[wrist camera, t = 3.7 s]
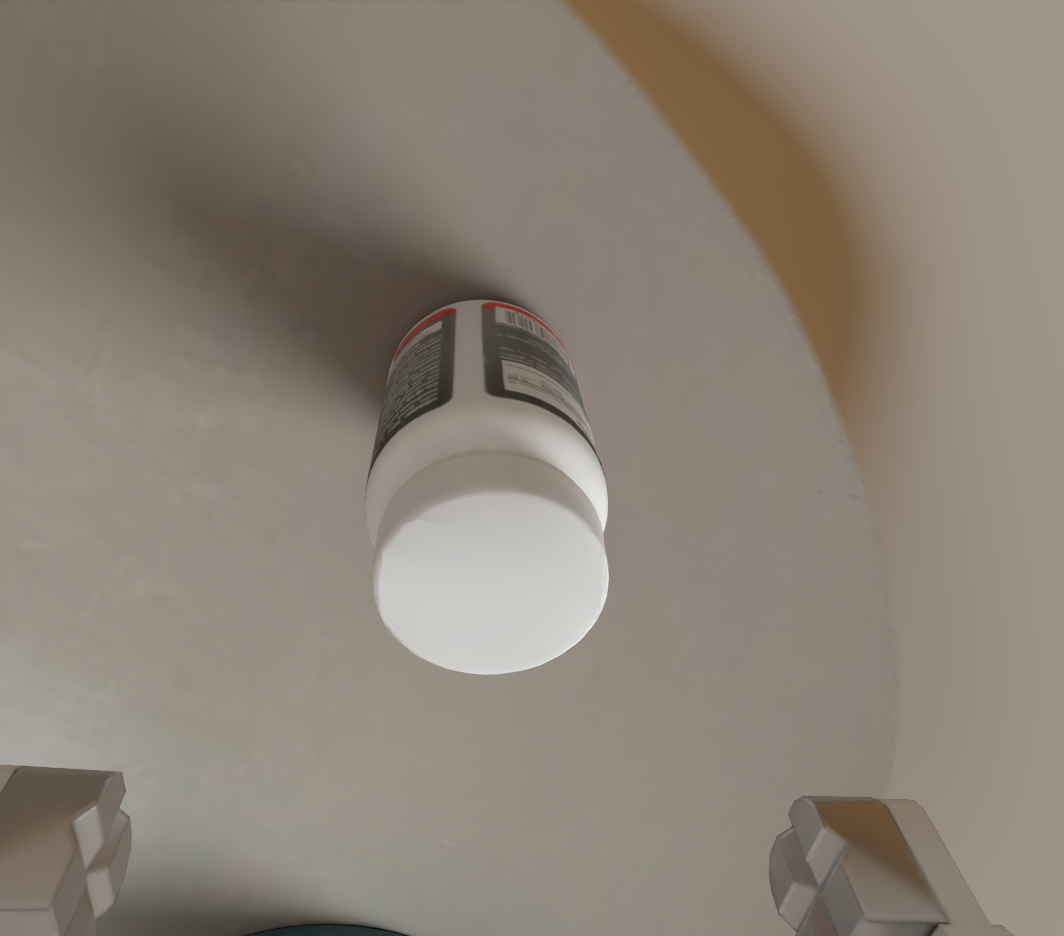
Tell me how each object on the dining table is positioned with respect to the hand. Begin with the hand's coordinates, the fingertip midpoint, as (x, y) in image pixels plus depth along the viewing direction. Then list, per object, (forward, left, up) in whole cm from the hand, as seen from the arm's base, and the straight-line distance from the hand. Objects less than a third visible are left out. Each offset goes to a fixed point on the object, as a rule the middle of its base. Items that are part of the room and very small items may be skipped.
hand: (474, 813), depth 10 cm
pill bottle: (0, 0, -13) cm, 13 cm away
